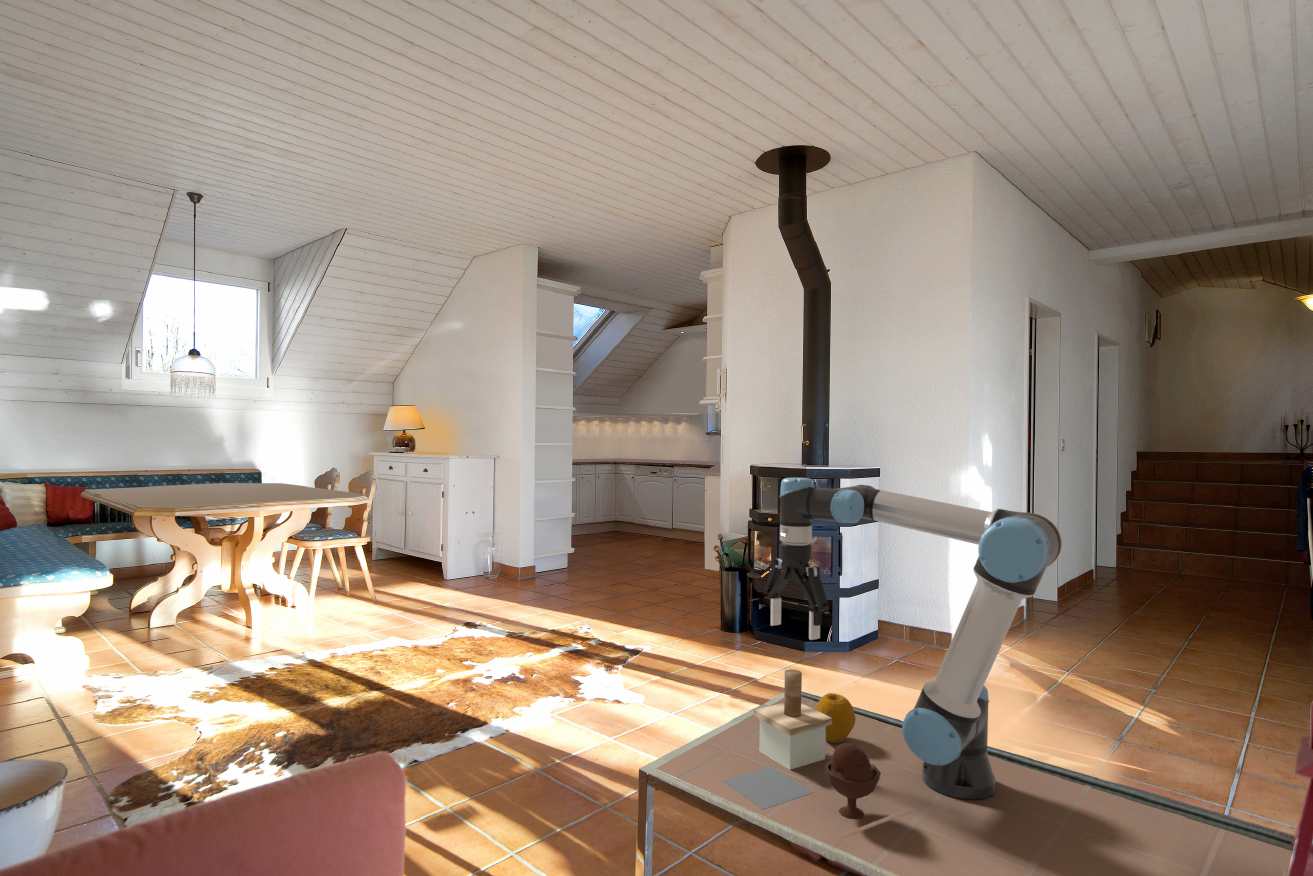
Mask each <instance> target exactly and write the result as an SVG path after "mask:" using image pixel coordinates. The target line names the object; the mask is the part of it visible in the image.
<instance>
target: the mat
mask: <svg viewBox="0 0 1313 876" xmlns="http://www.w3.org/2000/svg"><path fill="white" fill-rule="evenodd" d="M722 781H723V783H725V784H726V785H727V786H729V787H731V788H732V789H733V790H735V791H736V792H738V793H739V794H740V795H742V796H743V797H745V799H748V800H749V801H750V802H751V803H753V804H754V805H755V806H757V807H759V808H760V809H761V810H766V809H768V808H771V807H774V806H777V805H781V804H784V803H787V802H790V801H792V800H796V799H799V798H802V797H805V796H808V795H811V794H814V793H815V792H814V791H812V790H811V789H810V788H807V787H806V786H804V785H802V784H801V783H800V782H798V781H796V780H795V779H793V778H792V777H790V776H788V775H787V774H785V773H783V772H782V771H780V770H778V769H777V768H775V767H774V766H773V765H770V766H766V767H764V768H760V769H756V770H752V771H749V772H747V773H743V774H740V775H737V776H733V777H730V778H726V779H724V780H722Z"/></svg>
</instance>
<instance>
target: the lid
mask: <svg viewBox="0 0 1313 876" xmlns="http://www.w3.org/2000/svg"><path fill="white" fill-rule="evenodd" d="M802 675H803V673H802V671H800V670H799V669H798V670H797V669H786V670H784V692H783V693H784V694H783V695H784V697H783V698H784V699H783V700H784V702H781V703H776V704H773V705H769V706H768V705H767V706H764V707H760V708H756V709H753V717H754V718H756V719H758V720H759V721H760V720H762V721H764V722H766V723H768V724H769V725H771V726H773V727H775V728H777V729H778V730H780V731H782V732H784V733H786V734H787V735H789V736H792V735H795V734H799V733H803V732H806V731H810V730H813V729H817V728H821V727H824V726H828V725H832V718H831V717H829V716H827V715H825V714H823V713H821V712H818V711H816V709H814V708H812V707H810V706H808V705H806V704H804V703H802V690H803V689H802V682H803V681H802V680H803V679H802V678H803V677H802Z"/></svg>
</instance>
